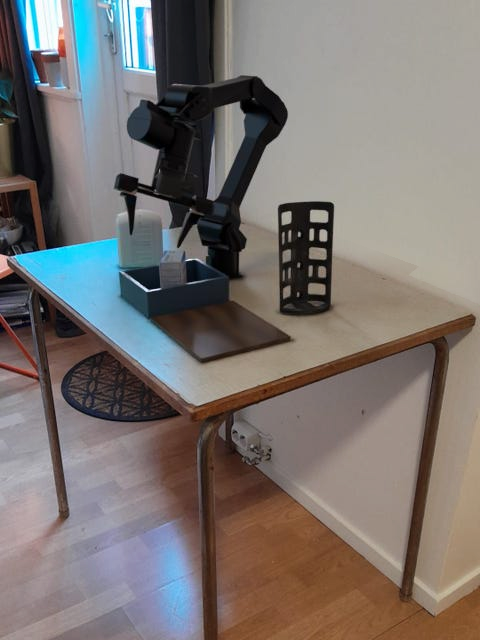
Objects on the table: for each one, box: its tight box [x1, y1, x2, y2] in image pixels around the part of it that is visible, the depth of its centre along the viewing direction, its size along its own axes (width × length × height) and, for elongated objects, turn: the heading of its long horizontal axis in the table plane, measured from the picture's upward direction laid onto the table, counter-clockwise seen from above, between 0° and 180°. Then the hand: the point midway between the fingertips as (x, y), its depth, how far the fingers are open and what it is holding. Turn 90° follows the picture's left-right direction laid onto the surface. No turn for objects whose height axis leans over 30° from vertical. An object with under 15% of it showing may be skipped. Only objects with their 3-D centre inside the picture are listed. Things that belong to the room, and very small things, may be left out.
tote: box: [118, 257, 230, 320], centre depth 131 cm, size 18×14×5 cm
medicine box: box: [159, 249, 187, 288], centre depth 130 cm, size 8×4×9 cm, turn 179°
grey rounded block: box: [115, 209, 164, 268], centre depth 147 cm, size 10×4×12 cm, turn 103°
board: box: [149, 300, 292, 364], centre depth 119 cm, size 18×20×1 cm
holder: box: [277, 200, 335, 315], centre depth 124 cm, size 11×8×20 cm
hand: (154, 241), depth 125 cm, fingers open, 9 cm apart
